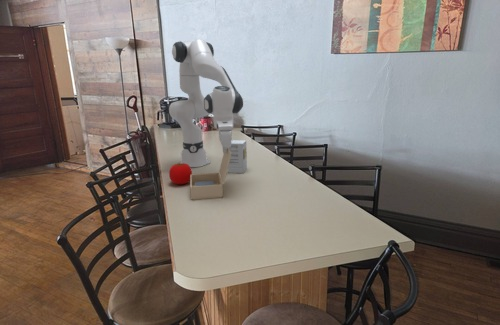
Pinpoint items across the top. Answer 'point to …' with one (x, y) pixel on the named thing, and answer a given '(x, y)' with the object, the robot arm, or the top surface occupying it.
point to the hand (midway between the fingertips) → (225, 153)
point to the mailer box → (206, 186)
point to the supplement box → (238, 157)
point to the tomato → (180, 173)
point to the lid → (225, 165)
